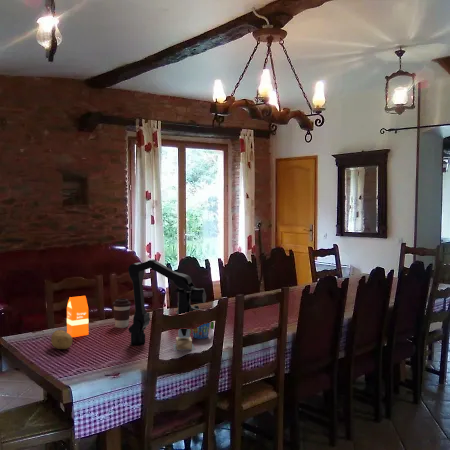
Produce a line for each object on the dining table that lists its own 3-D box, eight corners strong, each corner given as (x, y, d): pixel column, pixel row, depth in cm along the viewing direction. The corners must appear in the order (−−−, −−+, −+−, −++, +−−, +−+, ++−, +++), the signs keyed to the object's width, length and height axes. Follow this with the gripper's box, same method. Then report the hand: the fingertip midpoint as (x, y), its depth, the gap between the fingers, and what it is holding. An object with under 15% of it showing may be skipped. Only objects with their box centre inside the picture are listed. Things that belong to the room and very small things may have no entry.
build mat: (174, 351, 236) (174, 350, 236) (172, 345, 246) (172, 344, 246) (195, 350, 237) (195, 349, 237) (193, 344, 247) (193, 343, 247)
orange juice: (66, 334, 264) (66, 296, 263) (83, 331, 269) (82, 294, 268) (72, 337, 258) (71, 298, 257) (88, 334, 263) (88, 296, 262)
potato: (55, 354, 230) (55, 336, 229) (47, 346, 241) (47, 330, 241) (77, 350, 235) (77, 333, 235) (68, 343, 247) (67, 327, 247)
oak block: (177, 349, 237) (177, 341, 237) (176, 345, 244) (176, 337, 244) (191, 348, 239) (191, 340, 238) (190, 344, 245) (190, 336, 245)
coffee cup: (111, 325, 283) (110, 298, 283) (128, 323, 288) (128, 297, 287) (114, 329, 274) (114, 302, 274) (132, 327, 279) (132, 300, 278)
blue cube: (179, 337, 238) (179, 327, 238) (178, 335, 243) (178, 324, 243) (189, 337, 239) (189, 327, 239) (188, 334, 244) (188, 324, 244)
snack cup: (208, 333, 269) (208, 314, 268) (219, 337, 260) (219, 318, 259) (182, 337, 260) (182, 317, 259) (192, 342, 251) (192, 321, 251)
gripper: (203, 305, 233) (202, 339, 233) (198, 297, 251) (198, 328, 252) (178, 306, 231) (178, 339, 232) (176, 298, 249) (176, 329, 250)
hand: (183, 334), depth 241 cm, fingers closed on blue cube, 5 cm apart
